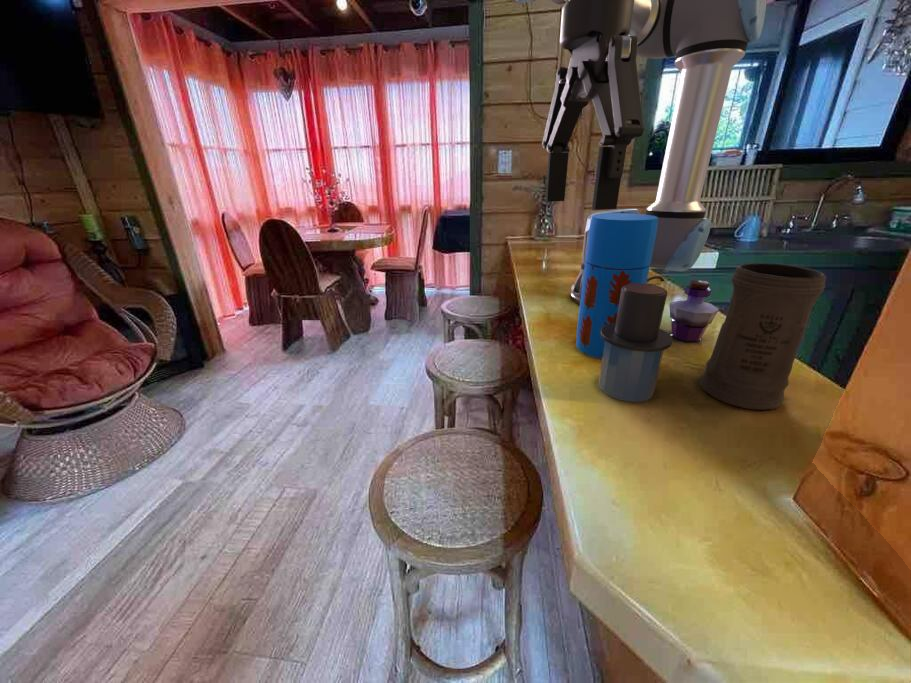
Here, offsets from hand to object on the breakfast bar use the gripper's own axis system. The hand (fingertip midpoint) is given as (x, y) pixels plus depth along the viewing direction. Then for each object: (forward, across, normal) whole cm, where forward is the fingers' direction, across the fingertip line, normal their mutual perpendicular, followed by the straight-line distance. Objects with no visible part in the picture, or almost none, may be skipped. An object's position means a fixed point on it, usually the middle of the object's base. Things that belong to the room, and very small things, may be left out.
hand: (576, 205), depth 50 cm
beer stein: (+28, +6, +28) cm, 41 cm away
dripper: (+21, +3, +10) cm, 24 cm away
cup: (+28, +3, +10) cm, 30 cm away
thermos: (+28, -12, +15) cm, 34 cm away
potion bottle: (+29, -12, +34) cm, 46 cm away
